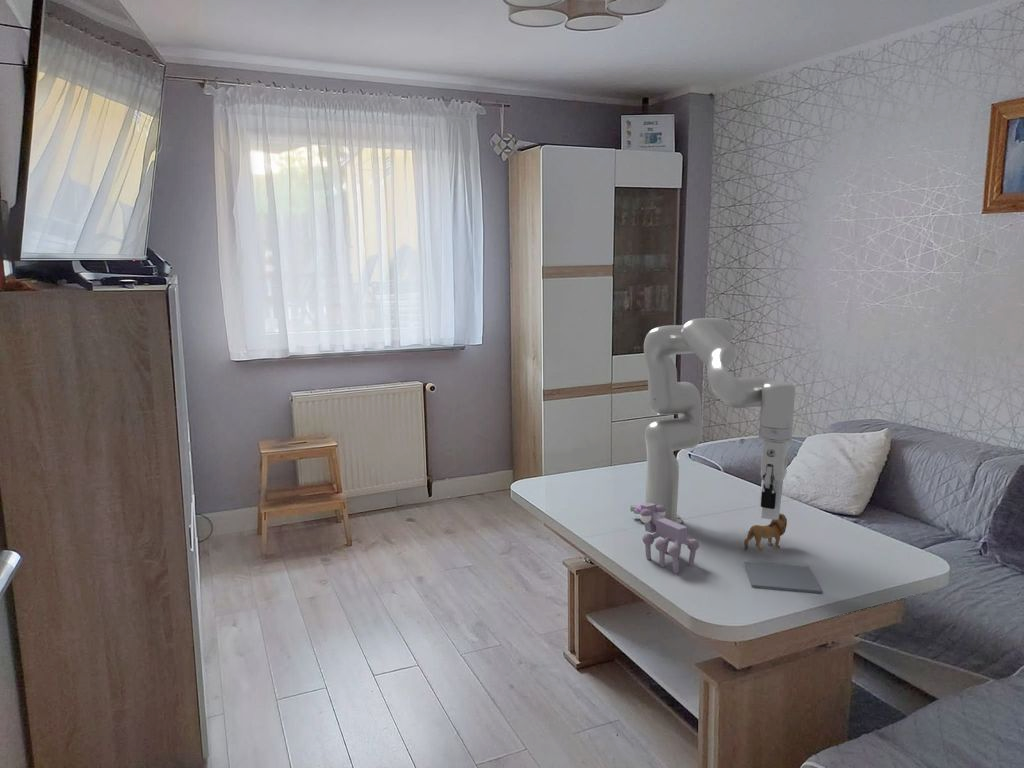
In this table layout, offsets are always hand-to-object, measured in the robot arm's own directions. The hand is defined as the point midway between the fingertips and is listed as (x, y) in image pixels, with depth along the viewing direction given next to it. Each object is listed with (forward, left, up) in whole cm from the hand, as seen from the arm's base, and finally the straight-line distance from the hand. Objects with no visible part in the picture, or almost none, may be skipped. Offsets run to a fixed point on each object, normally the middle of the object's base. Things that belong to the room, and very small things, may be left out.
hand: (770, 502), depth 171 cm
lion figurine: (+3, +21, -20) cm, 29 cm away
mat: (+4, +1, -20) cm, 20 cm away
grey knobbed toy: (-26, +8, -20) cm, 33 cm away
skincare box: (0, 0, -4) cm, 4 cm away
